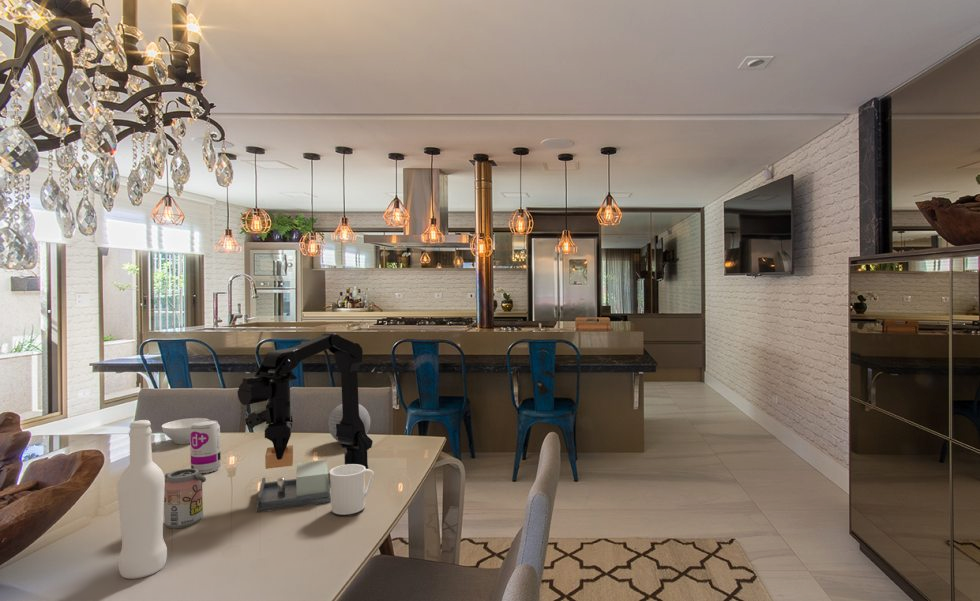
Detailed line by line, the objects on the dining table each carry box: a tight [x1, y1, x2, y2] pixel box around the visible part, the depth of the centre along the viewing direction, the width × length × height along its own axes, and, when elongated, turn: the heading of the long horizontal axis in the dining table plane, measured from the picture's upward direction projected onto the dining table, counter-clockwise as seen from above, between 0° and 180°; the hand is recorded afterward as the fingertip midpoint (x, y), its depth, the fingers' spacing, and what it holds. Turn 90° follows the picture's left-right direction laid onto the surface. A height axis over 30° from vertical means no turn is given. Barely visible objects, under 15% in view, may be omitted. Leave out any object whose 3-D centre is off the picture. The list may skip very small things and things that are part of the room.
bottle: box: [116, 419, 168, 580], centre depth 105 cm, size 8×8×30 cm
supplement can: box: [189, 419, 222, 475], centre depth 165 cm, size 8×8×15 cm
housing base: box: [256, 477, 332, 513], centre depth 143 cm, size 18×16×5 cm
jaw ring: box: [264, 444, 294, 470], centre depth 142 cm, size 7×7×4 cm
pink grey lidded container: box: [163, 468, 207, 529], centre depth 128 cm, size 9×8×12 cm
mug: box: [328, 464, 375, 518], centre depth 133 cm, size 11×9×10 cm
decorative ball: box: [327, 403, 371, 443], centre depth 193 cm, size 15×15×15 cm
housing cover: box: [295, 459, 329, 496], centre depth 144 cm, size 8×12×6 cm, turn 19°
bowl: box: [161, 417, 210, 445], centre depth 198 cm, size 16×16×7 cm
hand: (280, 455), depth 142 cm, fingers closed on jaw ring, 7 cm apart
